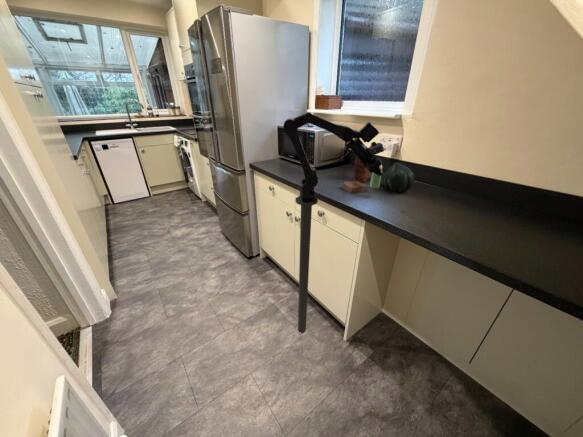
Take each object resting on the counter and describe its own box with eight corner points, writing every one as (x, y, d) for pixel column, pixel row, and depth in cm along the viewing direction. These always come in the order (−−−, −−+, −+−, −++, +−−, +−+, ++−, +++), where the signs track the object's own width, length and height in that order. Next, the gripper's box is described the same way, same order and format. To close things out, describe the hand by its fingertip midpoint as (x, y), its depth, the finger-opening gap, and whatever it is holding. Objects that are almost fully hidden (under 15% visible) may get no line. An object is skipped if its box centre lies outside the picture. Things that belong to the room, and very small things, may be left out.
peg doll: (374, 188, 111) (378, 165, 106) (367, 185, 115) (371, 162, 109) (381, 187, 113) (385, 164, 108) (374, 184, 117) (378, 161, 111)
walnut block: (351, 193, 119) (351, 188, 117) (342, 187, 126) (342, 182, 125) (366, 191, 121) (366, 186, 120) (356, 186, 129) (357, 180, 128)
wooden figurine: (360, 183, 133) (365, 151, 124) (351, 180, 137) (355, 149, 129) (372, 179, 139) (378, 148, 131) (364, 176, 144) (368, 146, 135)
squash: (424, 182, 119) (410, 156, 120) (407, 189, 111) (393, 161, 113) (401, 192, 131) (389, 169, 133) (385, 199, 124) (372, 174, 125)
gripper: (381, 140, 95) (402, 167, 100) (368, 133, 111) (386, 157, 116) (359, 159, 98) (381, 184, 104) (350, 150, 115) (368, 172, 120)
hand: (379, 173), depth 111 cm, fingers closed on peg doll, 4 cm apart
